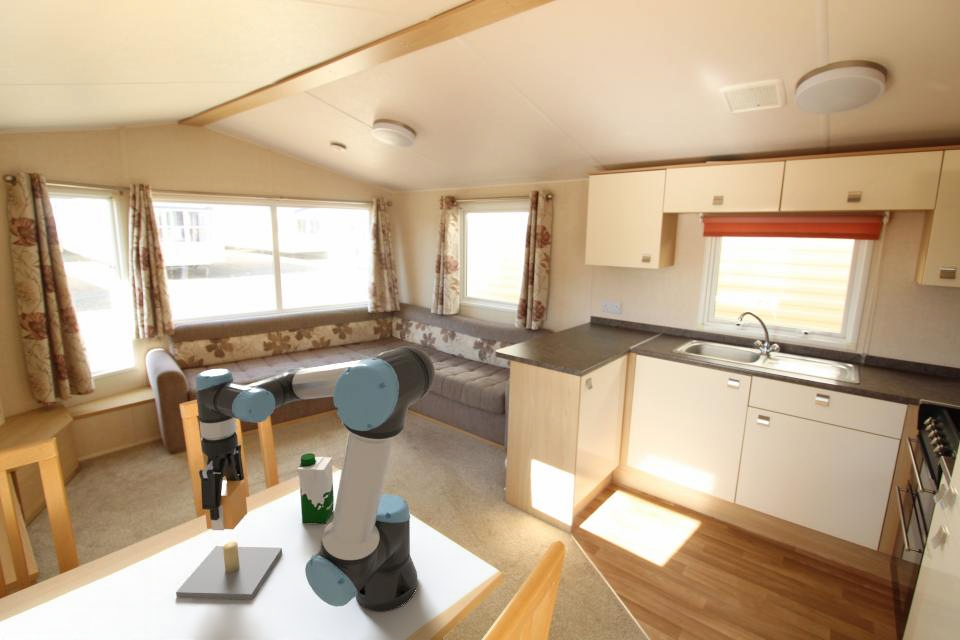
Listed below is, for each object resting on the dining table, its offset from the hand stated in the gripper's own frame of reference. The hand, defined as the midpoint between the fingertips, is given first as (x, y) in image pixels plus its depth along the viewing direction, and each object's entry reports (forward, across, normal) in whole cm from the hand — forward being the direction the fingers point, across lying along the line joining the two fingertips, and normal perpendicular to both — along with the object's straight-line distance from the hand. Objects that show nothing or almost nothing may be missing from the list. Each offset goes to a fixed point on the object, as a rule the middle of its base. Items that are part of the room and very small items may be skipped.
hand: (227, 519), depth 111 cm
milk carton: (+15, -24, +13) cm, 31 cm away
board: (+15, 0, 0) cm, 15 cm away
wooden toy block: (0, 0, 0) cm, 0 cm away
